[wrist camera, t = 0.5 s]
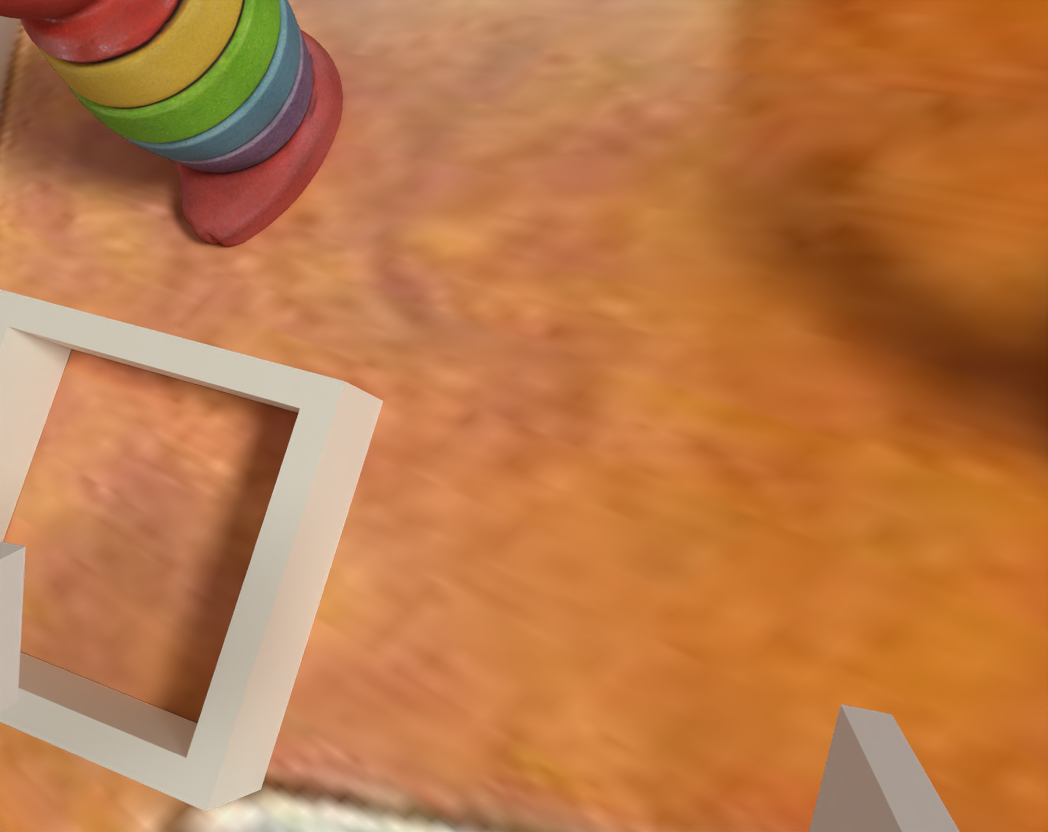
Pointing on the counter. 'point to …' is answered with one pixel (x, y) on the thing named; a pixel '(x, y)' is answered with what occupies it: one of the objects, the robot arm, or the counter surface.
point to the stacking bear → (201, 95)
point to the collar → (271, 580)
